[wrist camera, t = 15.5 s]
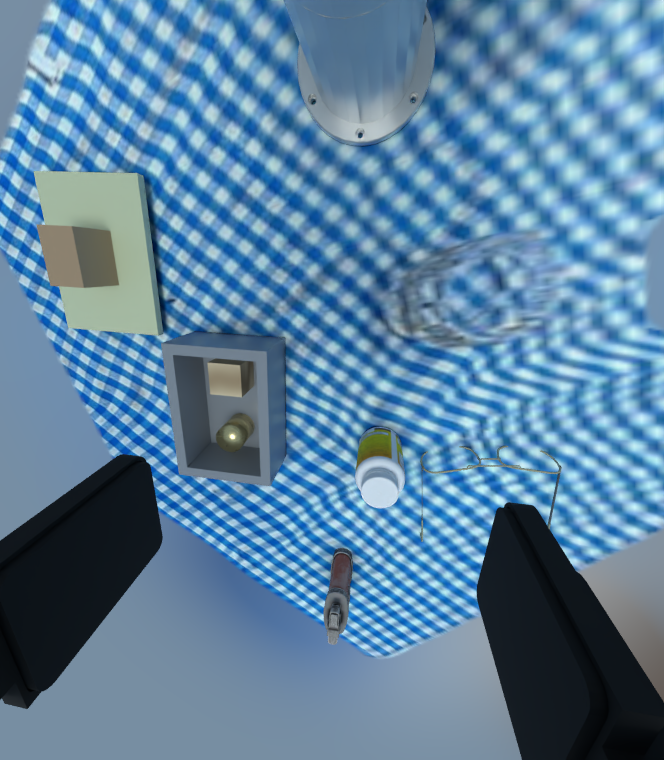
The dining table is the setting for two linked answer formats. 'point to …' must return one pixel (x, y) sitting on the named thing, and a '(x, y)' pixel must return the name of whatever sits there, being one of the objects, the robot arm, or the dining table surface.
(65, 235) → the lid
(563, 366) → the dining table surface
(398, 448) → the supplement bottle
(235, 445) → the brass slug
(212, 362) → the pine block
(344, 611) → the lighter
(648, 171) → the dining table surface
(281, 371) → the tub
